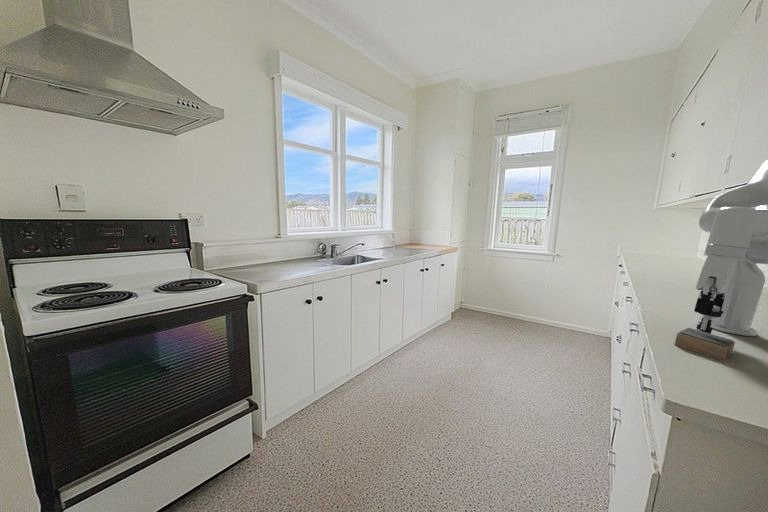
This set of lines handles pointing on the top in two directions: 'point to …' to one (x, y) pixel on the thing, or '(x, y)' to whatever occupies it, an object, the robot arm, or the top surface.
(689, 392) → the top surface
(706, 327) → the push button
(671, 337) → the top surface
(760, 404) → the top surface
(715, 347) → the stand
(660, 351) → the top surface
